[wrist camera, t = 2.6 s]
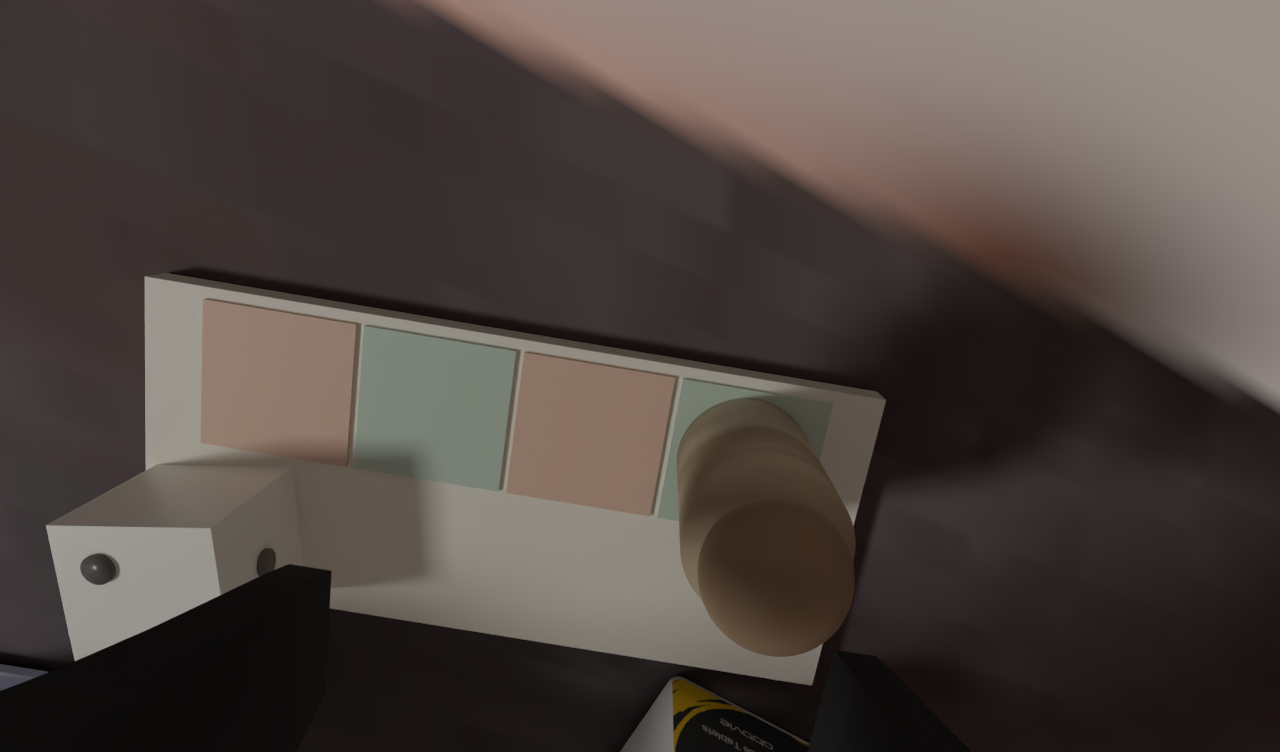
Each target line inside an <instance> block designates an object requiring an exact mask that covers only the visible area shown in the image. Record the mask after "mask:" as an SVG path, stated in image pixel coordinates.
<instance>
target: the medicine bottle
mask: <svg viewBox="0 0 1280 752" xmlns="http://www.w3.org/2000/svg"><path fill="white" fill-rule="evenodd" d="M809 744H810V743H808V742H806V741H804V740H802V739H800V738H798V737H796V736H795V735H793V734H791V733H789V732H787V731H785V730H783V729H781V728H779V727H777V726H775V725H773V724H772V723H770V722H768V721H766V720H764V719H762V718H760V717H758V716H756V715H754V714H752V713H751V712H749V711H747V710H745V709H743V708H741V707H739V706H737V705H735V704H733V703H731V702H730V701H728V700H726V699H724V698H722V697H720V696H718V695H716V694H714V693H712V692H710V691H709V690H707V689H705V688H703V687H701V686H699V685H697V684H695V683H693V682H691V681H689V680H688V679H686V678H683V677H679V676H677V677H673V678H672V679H670V680H669V681H668V683H667V684H666V686H665V687H664V689H663V690H662V691H661V693H660V694H659V696H658V697H657V699H656V700H655V702H654V703H653V704H652V706H651V707H650V709H649V710H648V712H647V713H646V715H645V716H644V718H643V719H642V720H641V722H640V723H639V725H638V726H637V728H636V729H635V731H634V732H633V733H632V735H631V736H630V738H629V739H628V741H627V742H626V744H625V745H624V747H623V748H622V749H621V751H620V752H808V748H809Z"/></svg>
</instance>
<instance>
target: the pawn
mask: <svg viewBox="0 0 1280 752" xmlns="http://www.w3.org/2000/svg"><path fill="white" fill-rule="evenodd" d="M677 484H678V509H679V535H680V556H681V562H682V566H683V570H684V573H685V575H686V577H687V580H688V582H689V584H690V585H691V587H692V588H693V590H694V591H695V593H696V594H697V595H698V596H699V597H700V598H701V599H702V601H703V604H704V606H705V608H706V610H707V612H708V614H709V616H710V618H711V619H712V621H713V622H714V623H715V625H716V626H717V627H718V628H719V629H720V630H721V632H722V633H723V634H724V635H726V636H727V637H728V638H729V639H730V640H732V641H733V642H735V643H736V644H738V645H739V646H741V647H743V648H745V649H747V650H749V651H751V652H754V653H757V654H761V655H766V656H773V657H788V656H795V655H799V654H803V653H805V652H808V651H811V650H813V649H815V648H817V647H818V646H820V645H821V644H823V643H824V642H826V641H827V640H828V639H829V638H830V637H831V636H833V634H834V633H835V632H836V631H837V630H838V629H839V627H840V626H841V625H842V623H843V622H844V620H845V618H846V616H847V614H848V612H849V610H850V607H851V604H852V600H853V595H854V590H855V573H854V565H853V561H854V556H855V546H856V540H855V531H854V527H853V523H852V520H851V517H850V515H849V513H848V511H847V509H846V507H845V505H844V503H843V502H842V500H841V498H840V496H839V495H838V493H837V491H836V489H835V487H834V486H833V484H832V482H831V480H830V478H829V477H828V475H827V473H826V471H825V470H824V468H823V466H822V464H821V462H820V461H819V459H818V457H817V455H816V454H815V452H814V450H813V448H812V446H811V445H810V443H809V441H808V439H807V437H806V436H805V434H804V432H803V430H802V429H801V427H800V426H799V424H798V423H797V422H796V421H795V419H794V418H792V417H791V416H790V415H789V414H788V413H787V412H785V411H784V410H783V409H781V408H779V407H777V406H776V405H774V404H771V403H768V402H766V401H761V400H757V399H733V400H728V401H725V402H721V403H719V404H716V405H714V406H712V407H710V408H709V409H707V410H705V411H704V412H703V413H701V414H700V415H699V416H698V417H697V418H696V419H695V420H694V421H693V422H692V423H691V424H690V425H689V427H688V428H687V430H686V431H685V433H684V435H683V437H682V439H681V442H680V444H679V448H678V453H677Z"/></svg>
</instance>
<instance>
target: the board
mask: <svg viewBox="0 0 1280 752" xmlns="http://www.w3.org/2000/svg"><path fill="white" fill-rule="evenodd" d="M733 399H757V400H761V401H766V402H768V403H771V404H774V405H776V406H777V407H779V408H781V409H783V410H784V411H785V412H787V413H788V414H789V415H790V416H791V417H792V418H794V419H795V421H796V422H797V423H798V424H799V426H800V427H801V429H802V430H803V432H804V434H805V436H806V437H807V439H808V441H809V443H810V445H811V446H812V448H813V450H814V452H815V454H816V455H817V457H818V459H819V461H820V462H821V464H822V466H823V468H824V470H825V471H826V473H827V475H828V477H829V478H830V480H831V482H832V484H833V486H834V487H835V489H836V491H837V493H838V495H839V496H840V498H841V500H842V502H843V503H844V505H845V507H846V509H847V511H848V513H849V515H850V517H851V520H852V523H853V526H854V522H855V518H856V514H857V510H858V507H859V503H860V499H861V495H862V491H863V487H864V483H865V480H866V476H867V472H868V468H869V464H870V460H871V457H872V453H873V449H874V445H875V441H876V437H877V433H878V430H879V426H880V422H881V418H882V414H883V410H884V407H885V403H886V399H884V398H883V397H882V396H881V395H880V394H879V393H878V392H877V391H871V390H865V389H859V388H853V387H847V386H841V385H835V384H829V383H823V382H817V381H811V380H805V379H799V378H793V377H787V376H781V375H775V374H769V373H763V372H757V371H751V370H745V369H739V368H733V367H727V366H721V365H715V364H709V363H703V362H697V361H691V360H685V359H679V358H673V357H667V356H661V355H655V354H649V353H643V352H637V351H631V350H625V349H619V348H613V347H607V346H601V345H595V344H589V343H583V342H577V341H571V340H565V339H559V338H553V337H547V336H541V335H535V334H529V333H523V332H517V331H511V330H505V329H499V328H493V327H487V326H481V325H475V324H469V323H463V322H457V321H451V320H445V319H439V318H433V317H427V316H421V315H415V314H409V313H403V312H397V311H391V310H385V309H379V308H373V307H367V306H361V305H355V304H349V303H343V302H337V301H331V300H325V299H319V298H313V297H307V296H301V295H295V294H290V293H284V292H278V291H272V290H266V289H260V288H254V287H248V286H242V285H236V284H230V283H224V282H218V281H212V280H206V279H200V278H194V277H188V276H182V275H176V274H170V273H162V274H156V275H151V276H145V427H146V470H148V469H150V468H151V467H153V466H155V465H220V466H286V467H292V470H293V478H294V487H295V495H296V504H297V512H298V520H299V529H300V537H301V546H302V554H303V562H304V566H305V567H311V568H318V569H324V570H330V571H332V573H331V592H330V608H331V609H337V610H343V611H349V612H356V613H362V614H368V615H374V616H381V617H387V618H393V619H399V620H406V621H412V622H418V623H424V624H431V625H437V626H443V627H449V628H455V629H462V630H468V631H474V632H480V633H487V634H493V635H499V636H505V637H512V638H518V639H524V640H530V641H536V642H543V643H549V644H555V645H561V646H568V647H574V648H580V649H586V650H593V651H599V652H605V653H611V654H618V655H624V656H630V657H636V658H642V659H649V660H655V661H661V662H667V663H674V664H680V665H686V666H692V667H699V668H705V669H711V670H717V671H724V672H730V673H736V674H742V675H748V676H755V677H761V678H767V679H773V680H780V681H786V682H792V683H798V684H805V685H811V686H812V684H813V680H814V676H815V672H816V668H817V664H818V660H819V657H820V653H821V649H822V645H823V644H821V645H820V646H818V647H817V648H815V649H813V650H811V651H808V652H805V653H803V654H799V655H795V656H788V657H773V656H766V655H761V654H757V653H754V652H751V651H749V650H747V649H745V648H743V647H741V646H739V645H738V644H736V643H735V642H733V641H732V640H730V639H729V638H728V637H727V636H726V635H724V634H723V633H722V632H721V630H720V629H719V628H718V627H717V626H716V625H715V623H714V622H713V621H712V619H711V618H710V616H709V614H708V612H707V610H706V608H705V606H704V604H703V601H702V599H701V598H700V597H699V596H698V595H697V594H696V593H695V591H694V590H693V588H692V587H691V585H690V584H689V582H688V580H687V577H686V575H685V573H684V570H683V566H682V562H681V556H680V535H679V509H678V484H677V453H678V448H679V444H680V442H681V439H682V437H683V435H684V433H685V431H686V430H687V428H688V427H689V425H690V424H691V423H692V422H693V421H694V420H695V419H696V418H697V417H698V416H699V415H700V414H701V413H703V412H704V411H705V410H707V409H709V408H710V407H712V406H714V405H716V404H719V403H721V402H725V401H728V400H733Z"/></svg>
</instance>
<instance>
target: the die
mask: <svg viewBox="0 0 1280 752" xmlns="http://www.w3.org/2000/svg"><path fill="white" fill-rule="evenodd" d="M46 528H47V533H48V537H49V542H50V547H51V552H52V556H53V561H54V566H55V570H56V575H57V580H58V585H59V589H60V594H61V599H62V603H63V608H64V613H65V618H66V622H67V627H68V632H69V636H70V641H71V646H72V651H73V655H74V660H75V661H77V660H79V659H81V658H84V657H86V656H88V655H90V654H93V653H95V652H97V651H100V650H102V649H104V648H107V647H109V646H111V645H114V644H116V643H118V642H121V641H123V640H125V639H127V638H130V637H132V636H134V635H137V634H139V633H141V632H144V631H146V630H148V629H150V628H152V627H155V626H157V625H159V624H161V623H163V622H165V621H167V620H169V619H171V618H174V617H176V616H178V615H180V614H182V613H184V612H186V611H188V610H190V609H193V608H195V607H197V606H199V605H201V604H203V603H205V602H207V601H209V600H211V599H214V598H216V597H218V596H220V595H222V594H224V593H226V592H228V591H230V590H232V589H234V588H236V587H238V586H241V585H243V584H245V583H247V582H249V581H251V580H253V579H255V578H257V577H260V576H262V575H264V574H266V573H268V572H271V571H273V570H275V569H278V568H280V567H283V566H285V565H288V564H292V565H299V566H304V562H303V554H302V546H301V537H300V529H299V520H298V512H297V504H296V495H295V487H294V478H293V470H292V467H286V466H220V465H155V466H153V467H151V468H150V469H148V470H146V471H144V472H142V473H140V474H139V475H137V476H135V477H133V478H131V479H130V480H128V481H126V482H124V483H122V484H120V485H119V486H117V487H115V488H113V489H111V490H110V491H108V492H106V493H104V494H102V495H100V496H99V497H97V498H95V499H93V500H91V501H90V502H88V503H86V504H84V505H82V506H80V507H79V508H77V509H75V510H73V511H71V512H69V513H68V514H66V515H64V516H62V517H60V518H59V519H57V520H55V521H53V522H51V523H49V524H48V525H46Z"/></svg>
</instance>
